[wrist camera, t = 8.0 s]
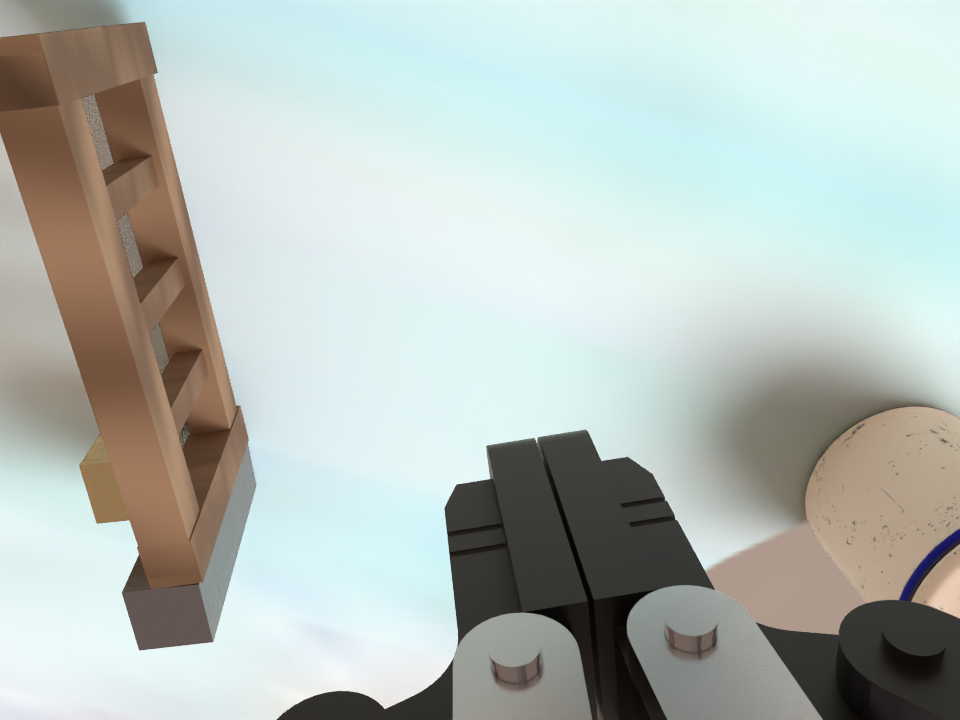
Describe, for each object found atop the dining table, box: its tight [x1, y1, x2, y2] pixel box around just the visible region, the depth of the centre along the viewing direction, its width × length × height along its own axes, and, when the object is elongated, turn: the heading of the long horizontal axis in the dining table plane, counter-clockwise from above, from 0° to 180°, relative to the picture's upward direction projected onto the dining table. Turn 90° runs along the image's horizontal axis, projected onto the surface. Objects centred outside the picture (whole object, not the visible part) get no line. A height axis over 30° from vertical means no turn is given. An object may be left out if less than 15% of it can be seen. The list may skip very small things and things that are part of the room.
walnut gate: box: [0, 22, 249, 590], centre depth 26 cm, size 16×2×9 cm, turn 6°
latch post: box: [79, 432, 256, 650], centre depth 30 cm, size 5×4×10 cm
